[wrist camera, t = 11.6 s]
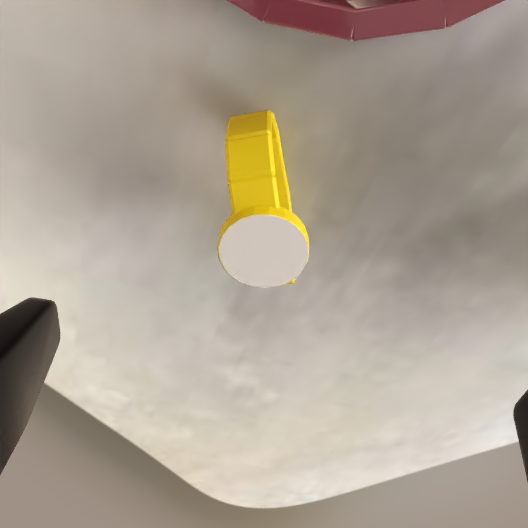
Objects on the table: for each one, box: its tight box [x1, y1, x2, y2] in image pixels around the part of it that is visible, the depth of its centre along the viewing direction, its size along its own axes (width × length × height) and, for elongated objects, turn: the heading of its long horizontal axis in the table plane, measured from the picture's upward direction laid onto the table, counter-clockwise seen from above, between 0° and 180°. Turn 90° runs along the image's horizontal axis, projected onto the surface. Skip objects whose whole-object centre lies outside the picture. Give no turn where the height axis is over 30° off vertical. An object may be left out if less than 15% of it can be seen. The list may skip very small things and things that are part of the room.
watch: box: [217, 110, 309, 288], centre depth 15 cm, size 6×3×6 cm, turn 11°
